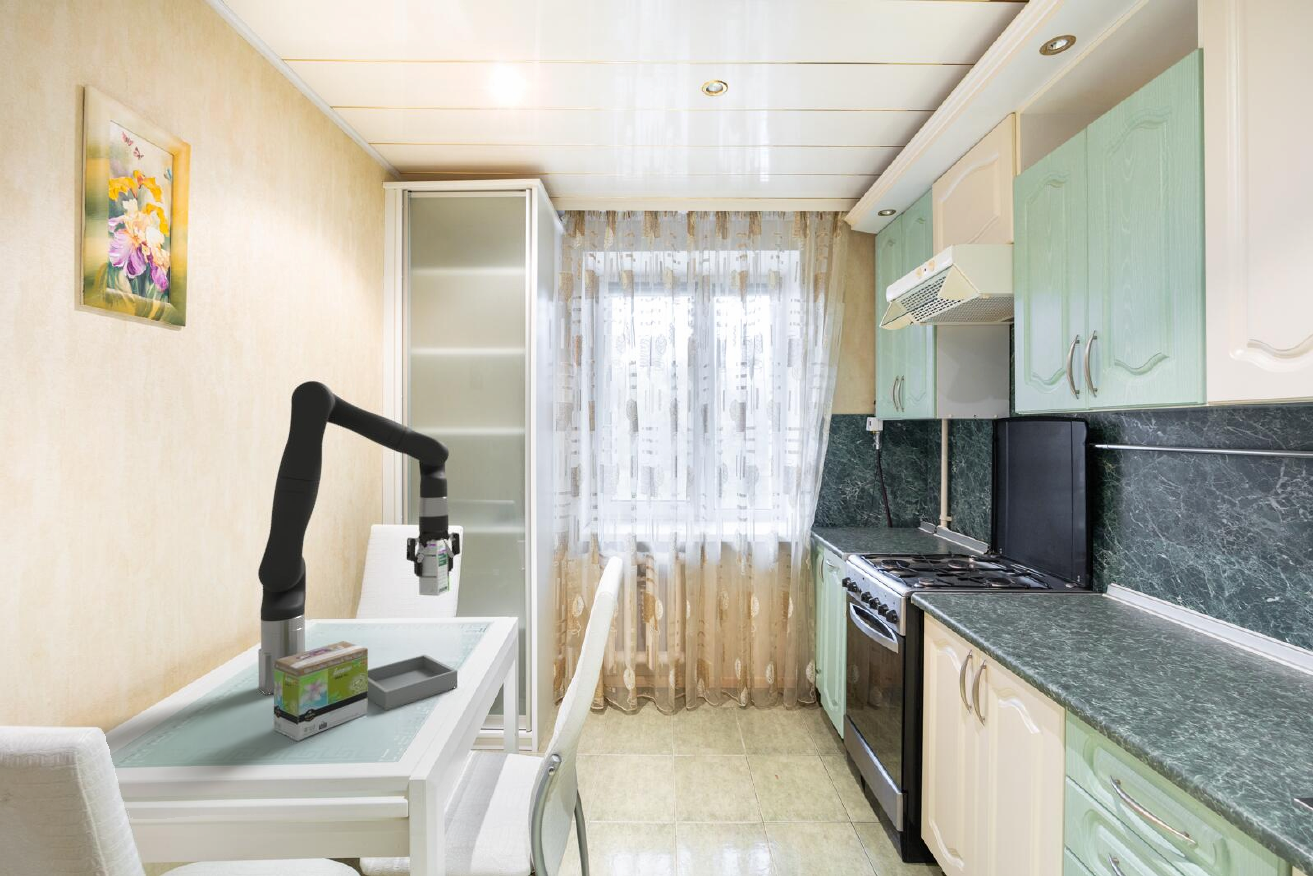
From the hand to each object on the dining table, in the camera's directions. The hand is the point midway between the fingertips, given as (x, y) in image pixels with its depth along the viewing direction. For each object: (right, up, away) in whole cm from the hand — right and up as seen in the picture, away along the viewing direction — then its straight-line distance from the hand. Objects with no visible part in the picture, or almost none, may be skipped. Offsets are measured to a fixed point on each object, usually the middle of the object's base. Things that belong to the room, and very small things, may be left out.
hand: (434, 573), depth 165 cm
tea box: (-11, -24, -35) cm, 44 cm away
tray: (0, -24, -18) cm, 30 cm away
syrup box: (0, -5, 0) cm, 5 cm away
